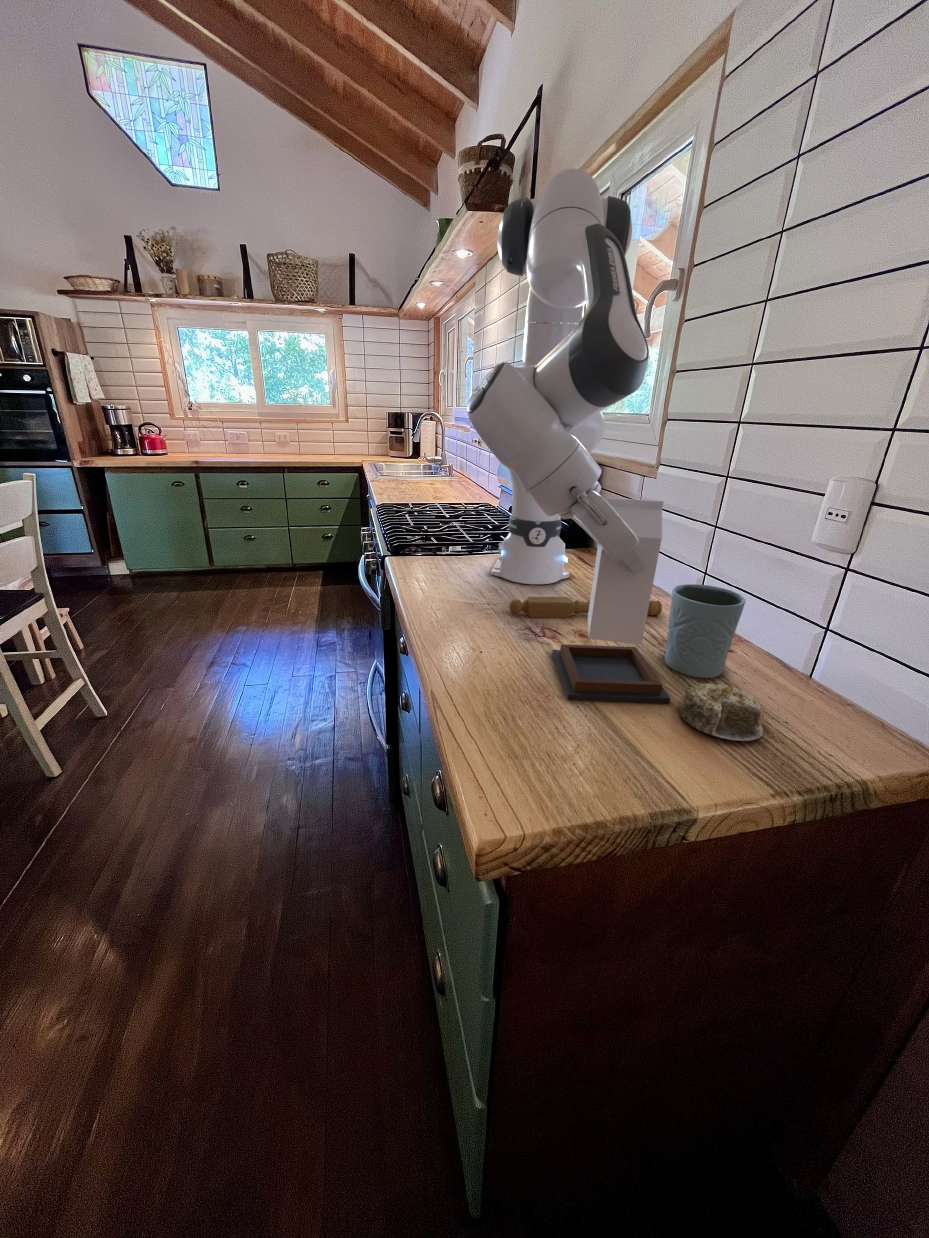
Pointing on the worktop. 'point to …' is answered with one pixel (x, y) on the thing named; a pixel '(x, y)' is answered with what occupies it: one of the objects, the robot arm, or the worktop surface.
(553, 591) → the worktop surface
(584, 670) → the shallow square tray
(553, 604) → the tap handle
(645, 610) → the milk carton
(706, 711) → the cake
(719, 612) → the blue plant pot
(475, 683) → the worktop surface
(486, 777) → the worktop surface
